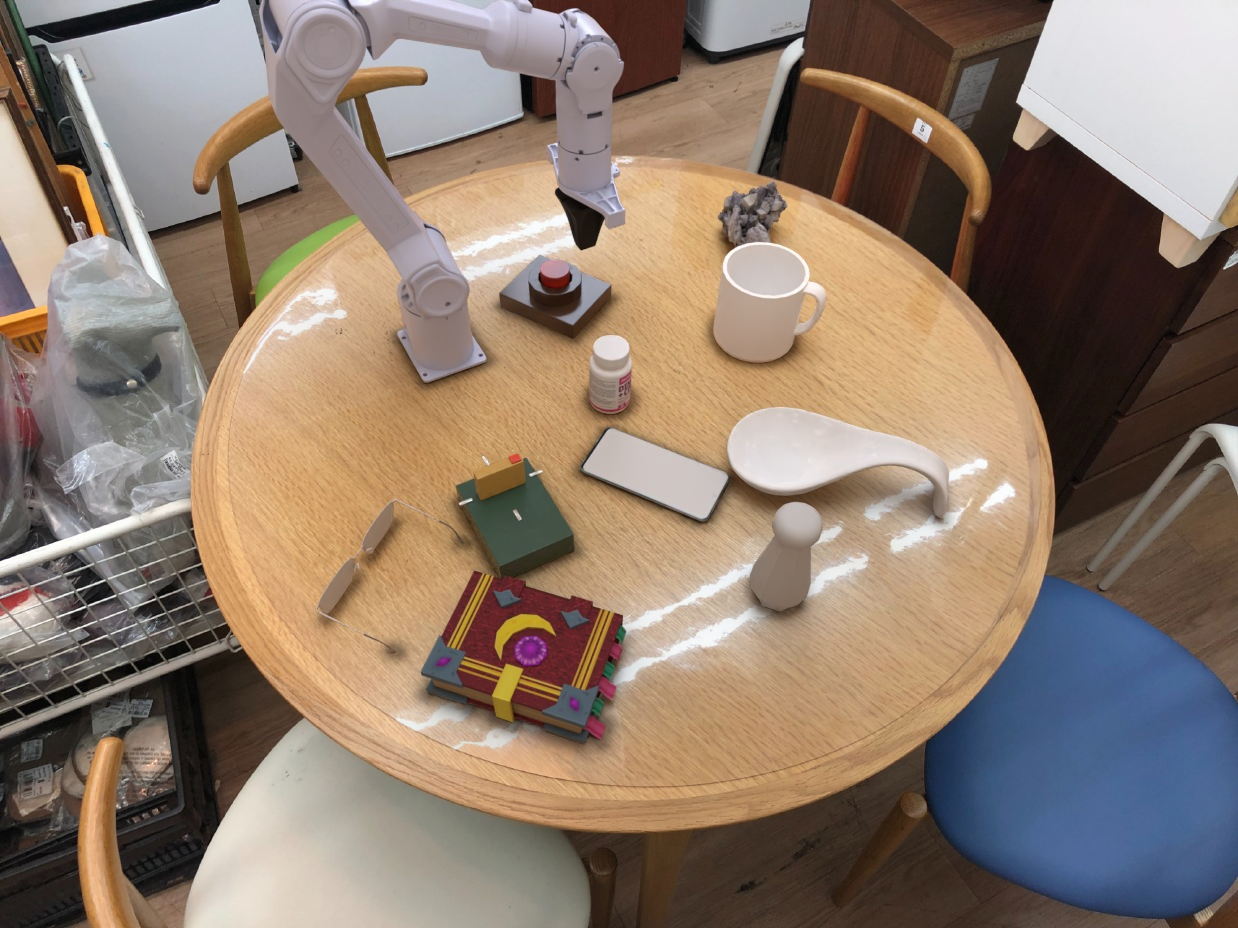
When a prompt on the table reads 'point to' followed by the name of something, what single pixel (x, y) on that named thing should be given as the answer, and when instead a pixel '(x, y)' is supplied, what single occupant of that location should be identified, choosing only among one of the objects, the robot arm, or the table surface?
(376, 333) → the table surface
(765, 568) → the salt shaker
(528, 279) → the dark button base
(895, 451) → the spoon rest
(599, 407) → the pill bottle
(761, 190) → the mineral specimen
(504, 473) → the red-dot tan block
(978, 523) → the table surface
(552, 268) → the button
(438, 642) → the decorative book
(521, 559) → the dark green flat block
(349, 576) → the eyeglasses
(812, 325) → the mug
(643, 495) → the smartphone
